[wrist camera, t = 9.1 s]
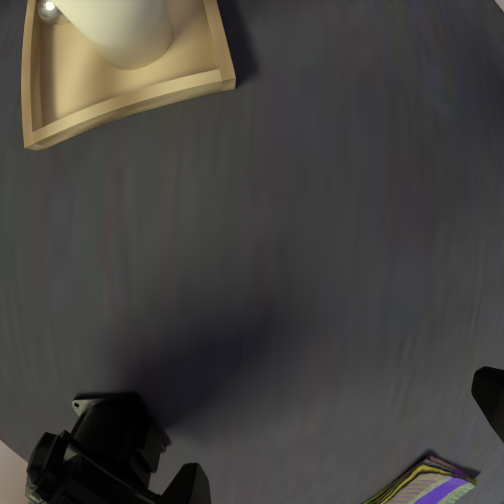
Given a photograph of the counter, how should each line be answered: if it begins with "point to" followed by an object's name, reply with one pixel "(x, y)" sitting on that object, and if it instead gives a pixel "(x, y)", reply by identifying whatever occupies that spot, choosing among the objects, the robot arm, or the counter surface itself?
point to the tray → (115, 73)
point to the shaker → (122, 29)
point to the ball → (51, 13)
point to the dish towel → (427, 485)
